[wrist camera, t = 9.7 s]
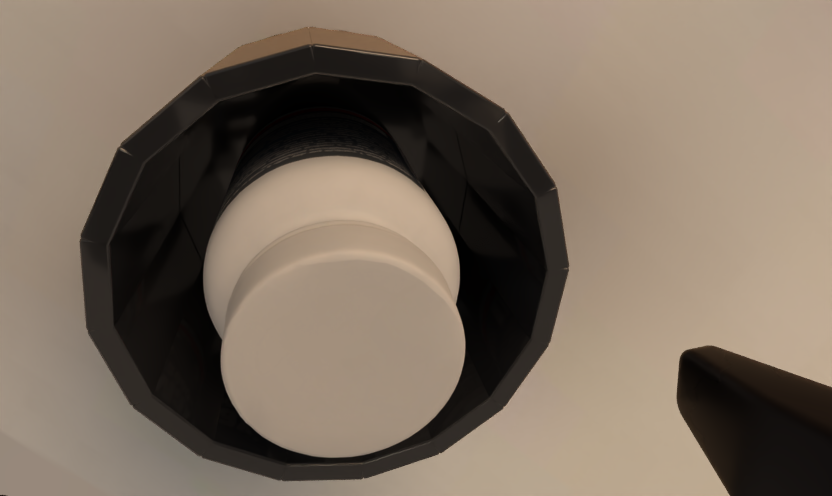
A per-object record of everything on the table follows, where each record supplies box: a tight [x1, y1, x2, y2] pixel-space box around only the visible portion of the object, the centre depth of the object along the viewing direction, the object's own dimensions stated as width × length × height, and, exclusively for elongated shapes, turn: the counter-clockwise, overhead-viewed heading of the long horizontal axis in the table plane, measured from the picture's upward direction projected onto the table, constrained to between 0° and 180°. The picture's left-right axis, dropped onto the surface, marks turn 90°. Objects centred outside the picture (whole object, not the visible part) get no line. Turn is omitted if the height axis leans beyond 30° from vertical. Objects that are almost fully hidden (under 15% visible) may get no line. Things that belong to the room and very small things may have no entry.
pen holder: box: [80, 27, 569, 481], centre depth 15 cm, size 9×9×7 cm
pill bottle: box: [203, 106, 465, 458], centre depth 13 cm, size 5×5×9 cm
